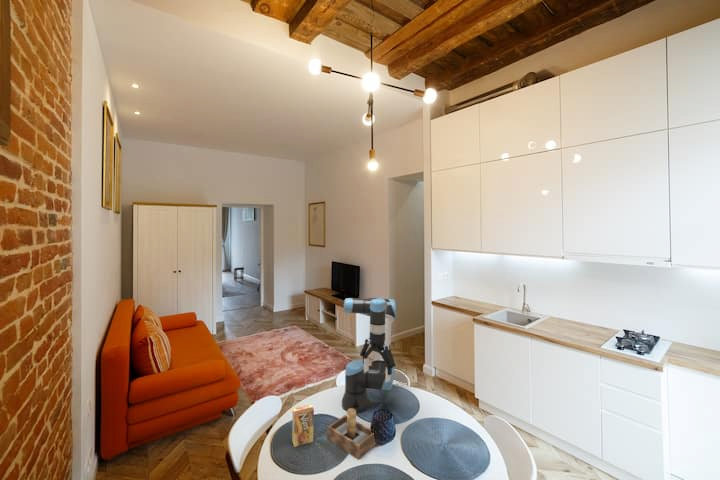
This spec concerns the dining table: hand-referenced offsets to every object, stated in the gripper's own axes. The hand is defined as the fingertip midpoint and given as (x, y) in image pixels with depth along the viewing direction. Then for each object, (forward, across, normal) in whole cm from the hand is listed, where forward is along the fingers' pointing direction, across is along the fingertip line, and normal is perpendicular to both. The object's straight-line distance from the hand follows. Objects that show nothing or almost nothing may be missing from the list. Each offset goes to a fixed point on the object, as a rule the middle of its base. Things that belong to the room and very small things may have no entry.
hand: (376, 376), depth 143 cm
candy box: (+26, -18, -30) cm, 44 cm away
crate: (+26, -3, -14) cm, 30 cm away
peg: (+26, -3, -14) cm, 30 cm away
